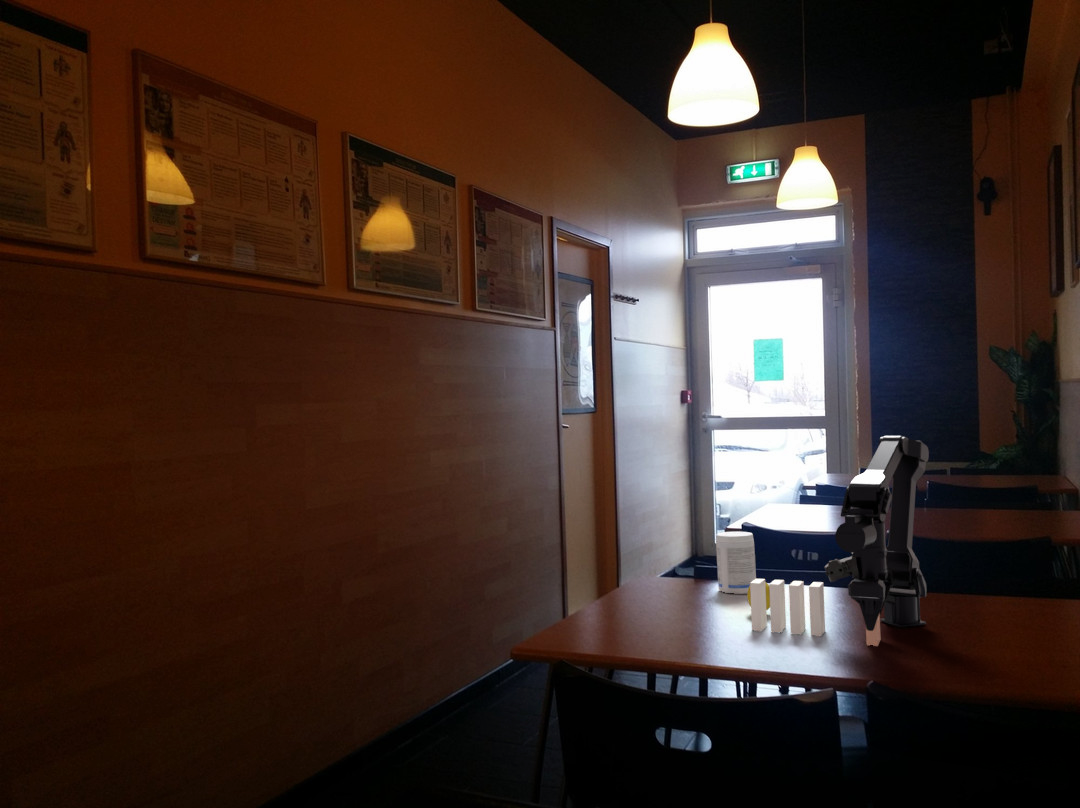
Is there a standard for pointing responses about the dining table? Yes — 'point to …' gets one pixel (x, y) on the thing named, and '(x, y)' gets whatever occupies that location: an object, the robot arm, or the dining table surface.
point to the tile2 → (817, 608)
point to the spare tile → (874, 634)
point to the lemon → (766, 596)
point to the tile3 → (797, 607)
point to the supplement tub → (735, 561)
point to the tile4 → (777, 605)
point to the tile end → (758, 604)
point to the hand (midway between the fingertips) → (873, 624)
